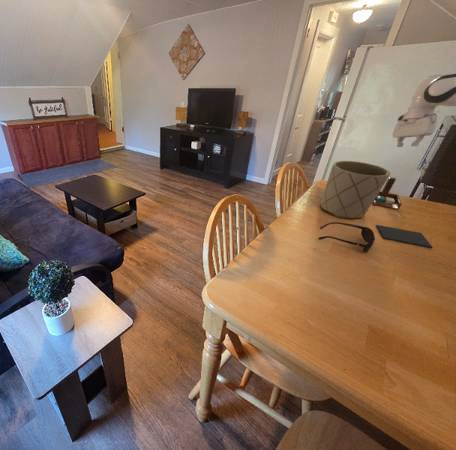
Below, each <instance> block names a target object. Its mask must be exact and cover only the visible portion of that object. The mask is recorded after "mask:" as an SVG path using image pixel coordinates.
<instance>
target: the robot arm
mask: <svg viewBox="0 0 456 450" xmlns="http://www.w3.org/2000/svg"><path fill="white" fill-rule="evenodd" d="M438 106H444V107H456V73H450V74H434V75H429V76H427V77H425V78H423V79H422V80H420V81H419V83H418V85H417V86H416V89H415V90H414V93H413V95H412V98H411V103H410V105H409V107H408V108H407V111H405V113H403V114H401V115H400V116H398V117H397V119H396V121H397V122H396V124H395V126H394V129H393V132H392V138H393V139H394V138H396V142H397V144H396V147H397V148H402V147H403V146H404V144H405V143H404V140H405V138H415V139H414V141H413V142H411V145H410V146H411V147H418V146H419V145H420V143H421V142H422V141H423V139H424V138H425V137H429V136H432V135H433V134H434V133H435V130H436V127H437V124H438V114H437V113H436V112H435V109H436V108H437V107H438Z"/></svg>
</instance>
